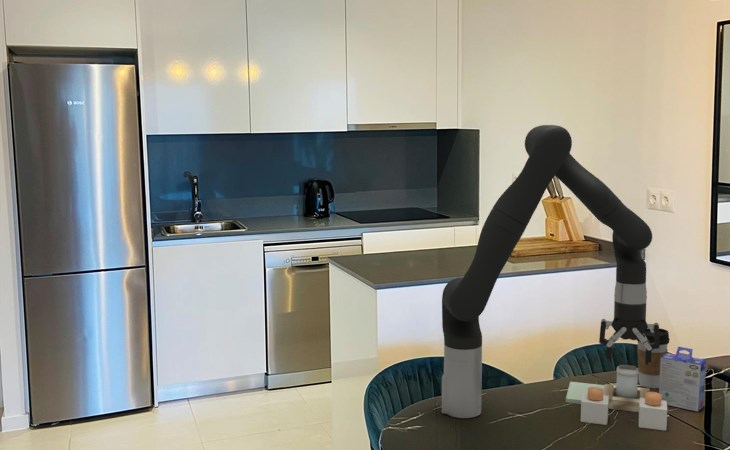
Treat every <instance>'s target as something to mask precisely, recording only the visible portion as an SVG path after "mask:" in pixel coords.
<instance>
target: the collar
mask: <svg viewBox="0 0 730 450" xmlns="http://www.w3.org/2000/svg"><path fill="white" fill-rule="evenodd" d="M604 385H605V386H604V393H603V395H606V396H609V404H608V410H617V411H625V412H631V413H632V412H633V413H639V399H640V398H645V393H646V392H651V391H650V389H651V388H647V387H640V386H639V387H638V386H637V399H632V398H623V397H616V384H611V383H604Z"/></svg>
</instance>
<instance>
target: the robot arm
mask: <svg viewBox="0 0 730 450" xmlns="http://www.w3.org/2000/svg"><path fill="white" fill-rule="evenodd" d="M572 144H573V140H572V137H571V134H570V132H569V131H568V129H566V128H564V127H563V126H561V125H555V124H543V125H542V124H541V125H538V126H534V127H532V128H531V129H530V130H529V131H528V132H527V134H526V136H525V139H524V149H525V151H526V154H527V155H528V158H527V160H526V162H525V164H524V166H523V168H522V169H521V172H520V173H519V175H518V176H517V177H516V179H515V180H514V181H513V182H512V183H510V185H509V186H508V187H507V188H506V190H505V191H504V192H503V193H502V194H501V195H500V196H499V197H498V199H497V200H496V202H495V203H494V205H493V206H492V208H491V209H490V212H489V213H488V216H487V217H486V220H485V221H484V224H483V226H482V228H481V231H480V234H479V238H478V241H477V246H476V248H475V249H476V250H475V254H474V256H473V259H472V261H471V263H470V265H469V267H468V269H467V271H466V273H465V274H464V276H463V277H456V278H453V279H452V280H449V281H448V282H447V283H446V285H445V286H444V287H443V290H442V295H441V318H442V319H441V321H442V322H441V324H442V325H441V327H442V333H443V342H444V343H443V374H442V376H441V414H445V415H448V416H450V417H452V418H459V419H471V418H475V417H478V416H479V415H481V414H482V396H483V395H482V393H483V392H482V391H483V390H482V383H483V382H482V381H483V380H482V378H483V375H482V373H483V364H482V363H483V333H482V331H481V330H482V329H481V326H480V316H481V315H482V314H483V312H484V311H485V308H487V307H486V306H487V305H488V302H489V299H490V297H491V294H492V292H493V289H494V287H495V284H496V282H497V281H498V278H499V277H500V274H501V272H502V271H503V269H504V267H505V266H506V264H507V262H508V260H509V259H510V257H511V255H512V253H513V252H514V250H515V248H516V247H517V244H518V243H519V241H520V240H521V238H522V236H523V235H524V232H525V231H526V229H527V226H528V225H529V223H530V221H531V219H532V217H533V215H534V213H535V211H536V209H537V207H538V206H539V204H540V203H541V202H540V201H541V200H542V198H543V196H544V194H545V192H546V190H547V188H548V187H549V185H550V184H551V182H552V180H553V179H554V177H555V178H557V179H558V180H559V181H560V182H561V183H562V184H563V185H564V186H565V187H567V189H569V191H571V193H573V195H574V196H575V197H576V198H577V199H578V200H579V201H580V202H581V203H582V205H584V206H585V207H586V209H588V211H589V212H590V213H591V214H592V215H593V216H594V217H595V219H597V220H598V221H599V222H600V223H601V224H603V225H604V226H606V227H608V228H610V229H611V230H612V234H611V235H612V239H611V240H612V245H613V246H612V247H613V253H614V258H615V261H616V268H615V269H616V270H615V287H614V300H613V301H614V303H613V304H614V306H613V308H614V309H613V320H611V321H610V320H606V319H605V318H603V319H601V321H600V326H599V327H600V329H599V341H598V342H599V344H600V345H604V346H605V348H606V351H605V352H606V359H607V360H608V361H609V362H613V348H614V344H615V343H616V342H617V341H619V339H620V338H621V339H622V340H631V341H637V339H639V340H640V341H641V343H642V344H643V345H644V346H645V347H646V348H645V365H648V362H649V363H650V362H651V351H652V350H653V349H658V348H659V347H660V340H659V328H660V324H659V323H658V322H654V323H648V322H647V299H648V296H647V293H648V292H647V291H648V290H647V264H646V261H645V259H644V258H642V256H641V251H643V250H645V249H647V248H649V246H650V245H651V243H652V241H653V233H652V229H651V227H650V226H649V225H648V224H647V222H646V221H644V219H642V218H641V217H640V216H639V215H638V214H637V213H635V212H634V211H632V210H631V209H630V208H629V207H627V206H626V205H625V204H624V202H622V200H621V199H620V198H619V197H618V196H617V195H616V194H615V193H614V191H612V190H611V188H609V187H608V186H607V184H606V183H605V182H603V181H602V180H601V179H600V178H598V177H596V176H595V174H593V173H592V172H590V171H589V170H588V169H587V168H585V167H584V166H583V165H581V164H580V163H579V161H577V160H576V158H574V157H573V155H572V154H571V150H572V146H573V145H572ZM610 327H612V328H613V330H614V332H613V334H612V335H611V336H610V337H609V339H607V338H606V330H607V331H608V330H609V329H610ZM647 329H650V331H651V332H652V333H654V343H650V342H649V341H648V339H647V338H646V336H645V335H644V332H645V331H646V330H647Z"/></svg>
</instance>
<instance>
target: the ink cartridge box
mask: <svg viewBox="0 0 730 450" xmlns="http://www.w3.org/2000/svg"><path fill="white" fill-rule="evenodd" d="M693 350H694V349H693V348H688V347H683V346H682V347H681V346H677V349H676V352H675V353H674V354H672V353H667V354H665V355H664V356H663V357H661V359H660V380H659V388H658V393H660V394H661V395H662V400H664V401H667V406H669V407H675V408H679V409H683V410H689V411H694V412H699V411H700V410H701V409H703V407H704V404H705V385H706V372H707V369H706V366H707V360H706V359H704V358H699V357H693ZM681 351H685V352H688V353H689V354H687V353H683V352H681Z"/></svg>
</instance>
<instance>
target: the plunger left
mask: <svg viewBox="0 0 730 450" xmlns="http://www.w3.org/2000/svg"><path fill="white" fill-rule="evenodd" d="M587 397H588V398H589V399H591V400H602V399H603V389H601V388H598V387H589V388H588V393H587Z"/></svg>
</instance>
